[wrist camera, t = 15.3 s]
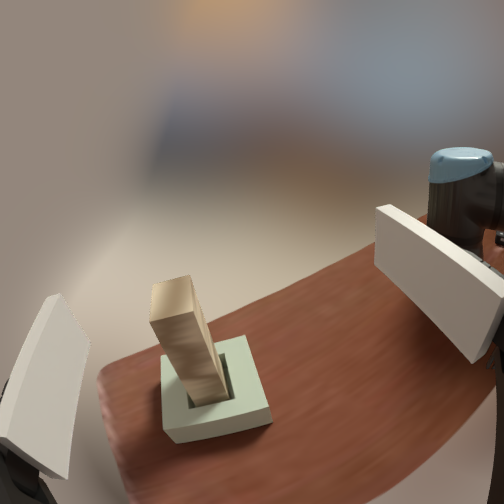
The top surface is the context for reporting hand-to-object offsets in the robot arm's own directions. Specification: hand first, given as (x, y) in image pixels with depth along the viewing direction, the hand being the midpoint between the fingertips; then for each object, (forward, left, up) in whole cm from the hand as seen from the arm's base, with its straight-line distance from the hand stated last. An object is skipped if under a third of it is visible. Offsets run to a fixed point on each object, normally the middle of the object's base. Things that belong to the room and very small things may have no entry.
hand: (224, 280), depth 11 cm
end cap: (+5, -14, -26) cm, 30 cm away
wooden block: (+5, -14, -25) cm, 29 cm away
